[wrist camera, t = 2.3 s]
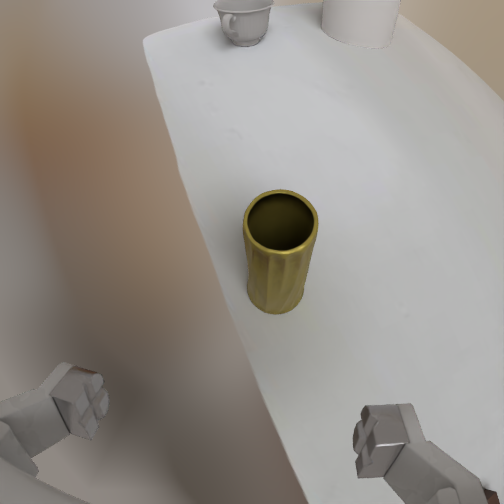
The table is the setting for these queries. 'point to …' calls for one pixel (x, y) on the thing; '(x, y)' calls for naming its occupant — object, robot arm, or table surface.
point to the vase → (278, 248)
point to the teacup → (244, 19)
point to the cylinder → (361, 21)
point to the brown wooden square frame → (491, 497)
